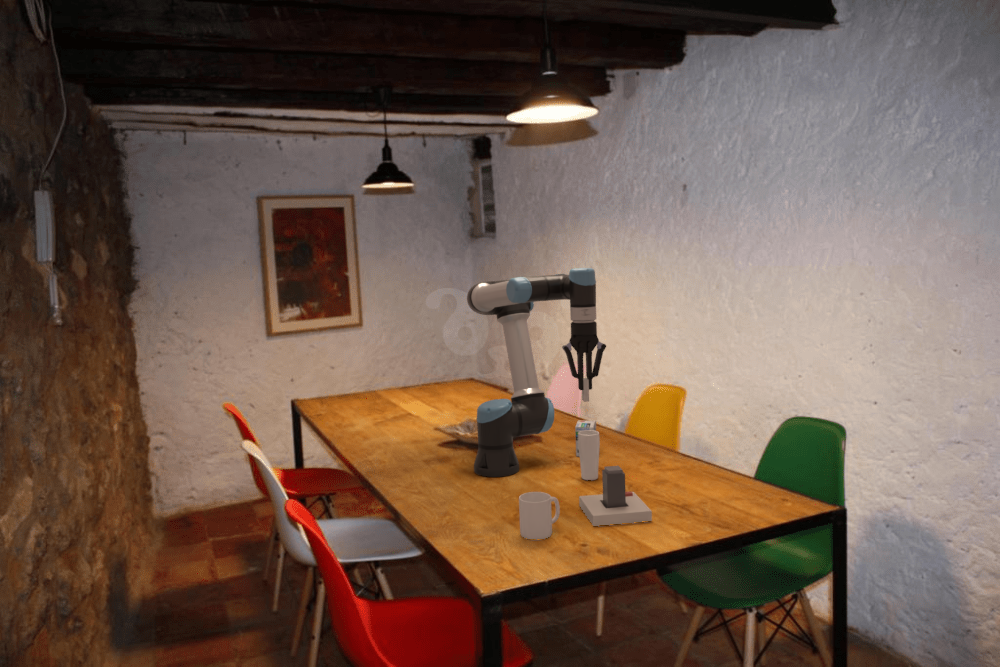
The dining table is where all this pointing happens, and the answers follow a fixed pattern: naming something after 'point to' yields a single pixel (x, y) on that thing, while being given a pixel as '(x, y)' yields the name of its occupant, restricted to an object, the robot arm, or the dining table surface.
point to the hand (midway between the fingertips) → (585, 400)
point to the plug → (613, 487)
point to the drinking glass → (589, 453)
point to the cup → (537, 515)
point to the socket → (615, 510)
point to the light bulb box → (583, 426)
